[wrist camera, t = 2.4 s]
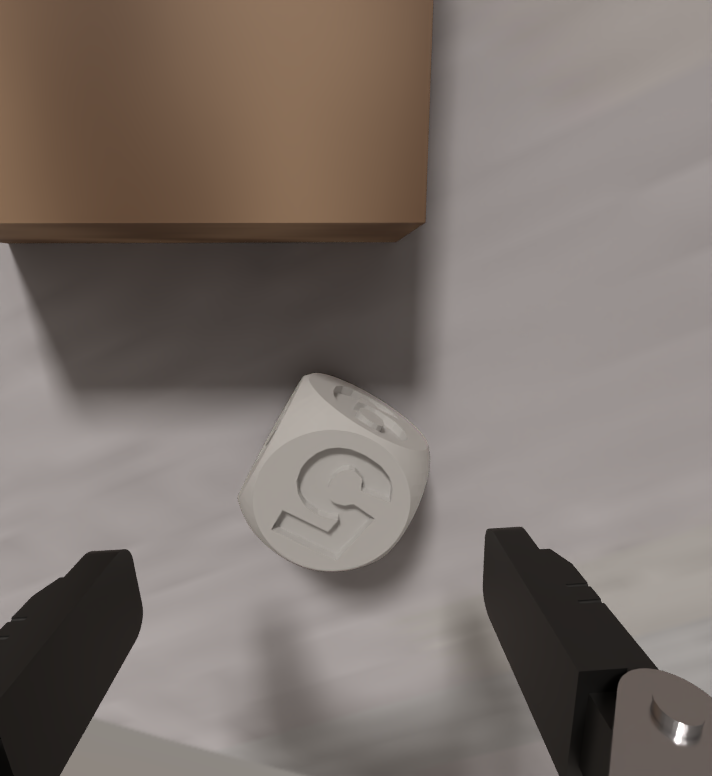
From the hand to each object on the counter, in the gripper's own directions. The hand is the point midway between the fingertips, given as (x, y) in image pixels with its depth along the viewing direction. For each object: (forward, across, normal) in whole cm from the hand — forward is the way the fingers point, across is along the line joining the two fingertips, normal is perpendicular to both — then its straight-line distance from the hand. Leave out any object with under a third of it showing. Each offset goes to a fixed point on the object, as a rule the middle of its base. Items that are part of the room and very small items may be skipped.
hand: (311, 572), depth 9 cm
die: (+8, 0, 0) cm, 8 cm away
